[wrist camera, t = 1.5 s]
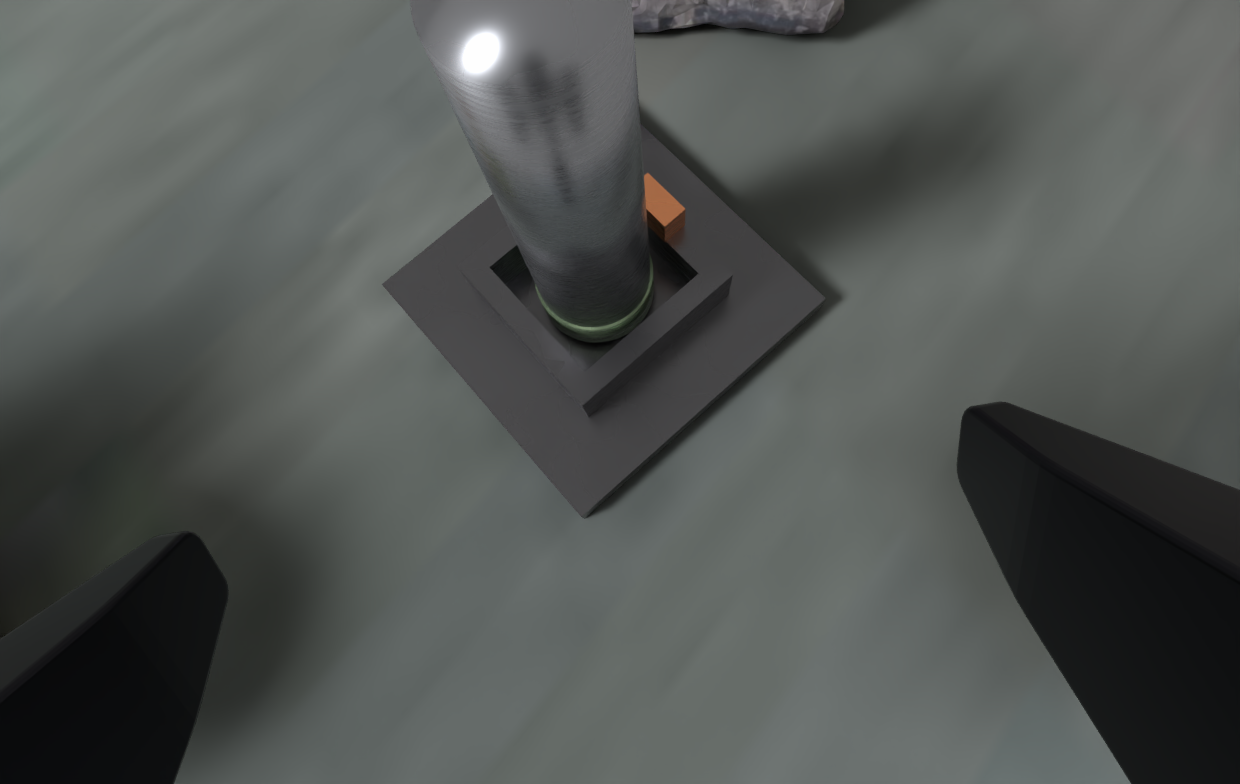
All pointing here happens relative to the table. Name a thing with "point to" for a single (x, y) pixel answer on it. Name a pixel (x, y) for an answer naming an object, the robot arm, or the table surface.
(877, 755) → the table surface
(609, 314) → the column
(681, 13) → the geode
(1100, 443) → the robot arm
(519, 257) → the stand base
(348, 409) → the table surface
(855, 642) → the table surface
